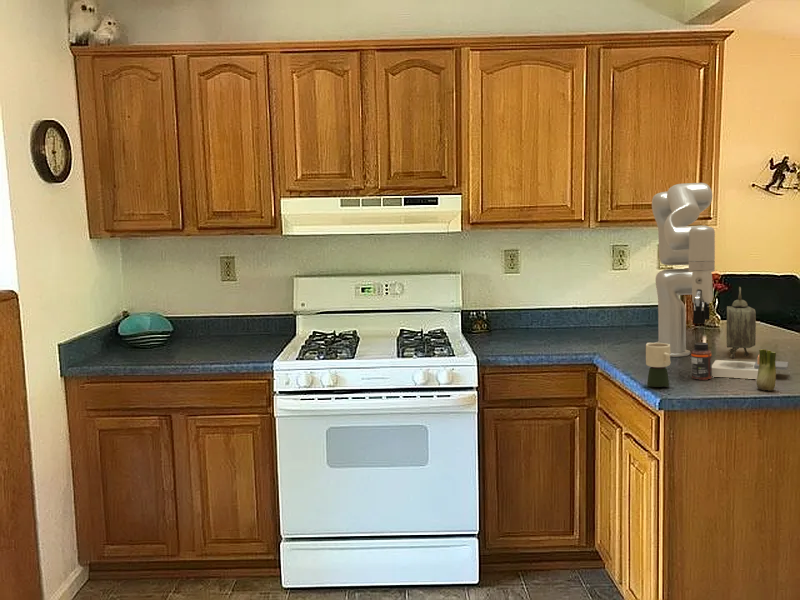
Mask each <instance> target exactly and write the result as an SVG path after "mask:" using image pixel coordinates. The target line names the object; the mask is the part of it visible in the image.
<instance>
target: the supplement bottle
mask: <svg viewBox="0 0 800 600" xmlns="http://www.w3.org/2000/svg"><path fill="white" fill-rule="evenodd" d="M693 344H694V349H692V350H691V351H690V358H691V359H690V360H691V361H690V362H691V364H690V365H691V367H690V369H691V378H692V379H693V378H694V379H693V380H695V379H699V380H698V381H709V380H708V379H710V380H711V379H712V378H713V377H712V364H713V363H712V362H713V361H712V360H713V359H712V351H711V350H710V349H709V344H708V342H695V343H693Z"/></svg>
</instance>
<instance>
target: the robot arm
mask: <svg viewBox="0 0 800 600" xmlns="http://www.w3.org/2000/svg"><path fill="white" fill-rule="evenodd" d="M712 201H713V191H712V189H711V186H710V185H708V183H705V182H690V183H677V184H674V185H672V186H670V187H669V188H668V190H666V191H661V192H658V193H656V194H654V195H653V196H652V200H651V210H652V215H653V217H654V220H655V222H656V226H657V230H658V233H657V234H658V255H659V256H658V257H659V261H660V263H661V264H662V265H665V266H688V268H668V269H662V270H660V271H658V272H657V273H656V276H655V287H656V288H655V289H656V294H657V304H658V305H657V313H658V314H657V315H658V317H657V318H658V323H657V324H658V325H657V326H658V327H657V328H658V329H657V330H658V340H657V341H656V342H655V343H665V344H670V351H671V353H670V358H671V357H672V358H673V357H677V358H678V357H686V356H691V351H690V349H687V345H686V344H687V343H686V342H687V341H686V339H687V337H686V336H687V335H686V334H687V333H686V328H687V326H686V325H687V324H686V323H687V322H686V319H687V317H686V315H687V314H686V311H687V310H686V305H685V304H684V302H683V301H682V299H680V298H679V296H683V295H684V296H686V295H689V296H690V295H691V296H692V297H691V299H692V303H693V316H692V317H693V318H692V319H693V324H694V325H695V324H697V325H699V324H701V325H704V324H705V323H706V320H708V321H709V320H710V303H712V302H713V300H714V294H713V292H714V291H713V289H714V288H713V274H712V272H716V271H715V270H716V268H715V267H716V266H715V263H716V262H715V261H716V259H715V258H716V257H715V254H716V252H715V250H716V249H715V248H716V243H715V242H716V241H715V237H716V236H715V235H716V232H715V228H714V227H712V226H709V225H691V224H693V223H694V222H696V221H697V220H698V218H699V216H700V214H701V213H703V212H704V211H705V210H706V209H708V208H709V207H710V205H711V204H712ZM650 343H653V342H646V344H650Z"/></svg>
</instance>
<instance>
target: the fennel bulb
mask: <svg viewBox="0 0 800 600" xmlns="http://www.w3.org/2000/svg"><path fill="white" fill-rule="evenodd" d="M758 351H759V353H758V355H759V369H758V376H757V380H756V387H757V388H758V389H759V390H760V391H761V390H762V391H765V390H768V391H774V390H775V387H776V380H777V369H776V365H775V361H777V360H776V358H777V357H776V356H777V354H776V353H777V352H775V351H772V350H769V349H768V350H767V349H762V348H761V349H758Z"/></svg>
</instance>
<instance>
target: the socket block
mask: <svg viewBox="0 0 800 600" xmlns="http://www.w3.org/2000/svg"><path fill="white" fill-rule="evenodd" d="M755 363H756V361H741V360H740V361H739V360H723V359H721V360H720V359H715V360H714V362H713V363H712V376H713V377H712V378H714V377H734V378H748V379H757V376H758V369H759V368H754V365H755Z"/></svg>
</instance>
